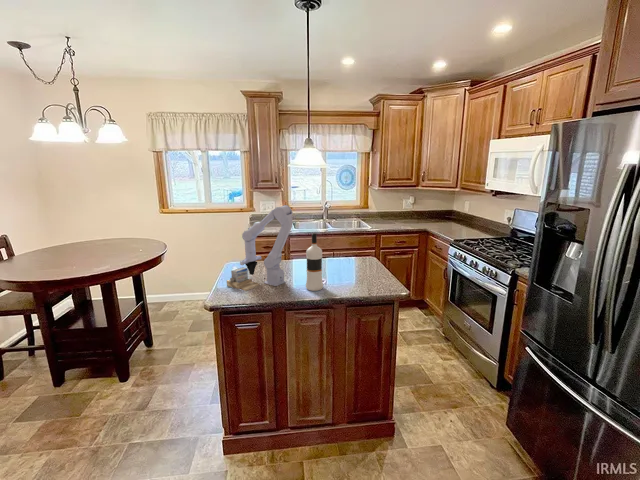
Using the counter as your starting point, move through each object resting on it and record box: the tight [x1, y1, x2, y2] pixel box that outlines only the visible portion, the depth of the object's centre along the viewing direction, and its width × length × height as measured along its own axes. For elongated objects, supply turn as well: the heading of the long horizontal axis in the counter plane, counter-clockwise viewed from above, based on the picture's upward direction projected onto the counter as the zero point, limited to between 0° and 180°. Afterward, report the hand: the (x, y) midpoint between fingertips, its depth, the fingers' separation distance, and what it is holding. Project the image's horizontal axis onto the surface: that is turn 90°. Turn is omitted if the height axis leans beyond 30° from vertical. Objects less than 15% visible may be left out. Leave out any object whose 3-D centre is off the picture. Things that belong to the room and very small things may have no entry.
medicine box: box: [230, 266, 249, 283], centre depth 177 cm, size 8×4×9 cm, turn 144°
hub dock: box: [226, 276, 260, 292], centre depth 175 cm, size 14×11×5 cm
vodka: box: [305, 232, 324, 292], centre depth 168 cm, size 9×9×30 cm
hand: (251, 274), depth 184 cm, fingers closed
